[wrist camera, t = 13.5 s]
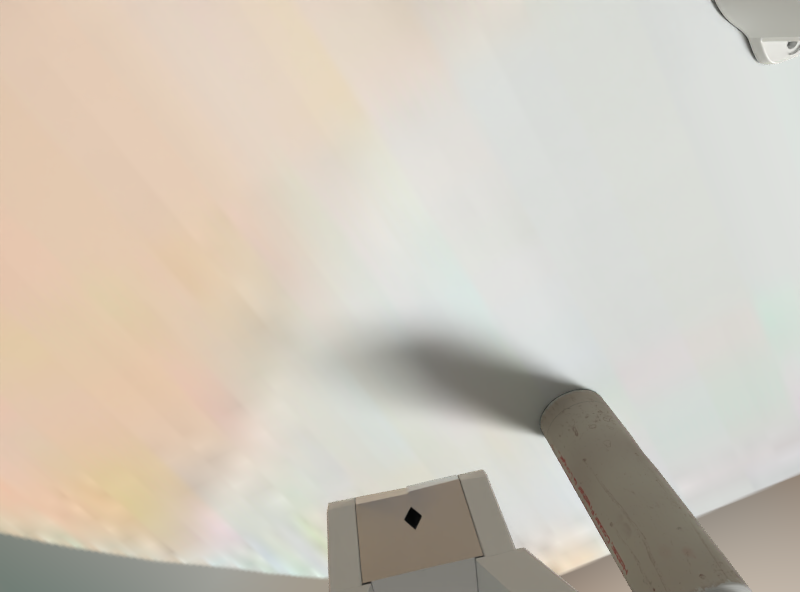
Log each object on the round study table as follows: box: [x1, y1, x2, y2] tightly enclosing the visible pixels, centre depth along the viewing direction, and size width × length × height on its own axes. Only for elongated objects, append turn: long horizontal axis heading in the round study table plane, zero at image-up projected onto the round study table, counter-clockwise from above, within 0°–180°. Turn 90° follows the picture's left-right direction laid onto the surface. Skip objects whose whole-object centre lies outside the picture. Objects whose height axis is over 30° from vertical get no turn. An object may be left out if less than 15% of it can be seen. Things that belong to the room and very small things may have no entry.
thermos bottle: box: [540, 390, 752, 592], centre depth 45 cm, size 8×8×28 cm
